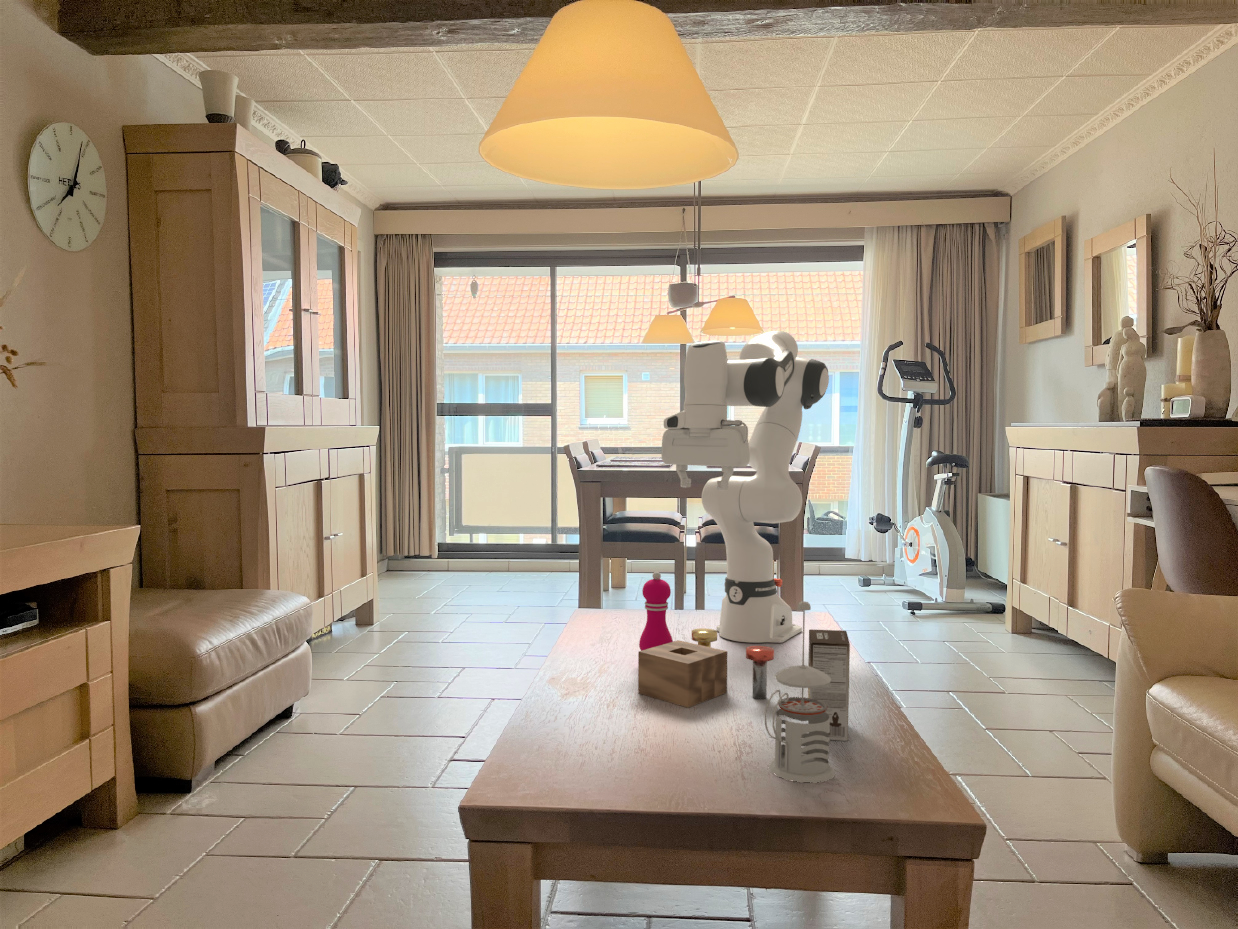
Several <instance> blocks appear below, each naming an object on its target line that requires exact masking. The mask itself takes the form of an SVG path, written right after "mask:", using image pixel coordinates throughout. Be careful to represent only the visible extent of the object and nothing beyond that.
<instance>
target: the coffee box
mask: <svg viewBox="0 0 1238 929" xmlns="http://www.w3.org/2000/svg"><path fill="white" fill-rule="evenodd" d="M850 647H851V643H850V640H849V635H848V632H847V630H837V629H836V630H831V629H809V630H808V662H807V663H808V665H807V666H810V667H813V668H815V669H817V670H820V671H822V672H824V673H825V674H827V675H828V676H829V677H830V678H831V681H830V683H829V684H828V685H826V686H823V687H818V688H807V698H810V699H811V698H812V699H814V700H815V699H816V700H820V701H821V702H824V703H825V704H826V705H827V707H828V708H827V709H826V711H825V712H826V713H827V714H828V715H829V717H830V732H829V733H828V735H829V741H842V742H848V740H849V705H850V703H849V699H850V698H849V697H850V694H849V693H850V653H851V651H850V650H851V648H850ZM807 722H808V723H807V724H809V721H807Z"/></svg>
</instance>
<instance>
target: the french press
mask: <svg viewBox="0 0 1238 929" xmlns="http://www.w3.org/2000/svg"><path fill="white" fill-rule="evenodd" d="M811 609H812V608H811V604H810V603H809V601H803V600H802V601H800V602H799V603H798V604H797V609H796V610H799V611H802V612H803V613H802V659H801V660H802V661H801V662H802V663H801V664H802V665H801V664H800V665H791V666H789V667H786V668H783V669H782V670H779V671H778V672H777V673H776V674H775V675H774V677H775V679H776V681H777V682H778V683H779V684H782V685H783V686H787V687H791V688H797V689H798V688H801V697H800V696H791V697H790V696H789V694H788V693H787V692H784V693H783V694H782V695H781V690H780V689H777V690H776V691H774V692H773V693H772V694H771V695H770V697H769V699H768V700H767V703H766V706H765V710H764V727H765V730H766V732H767V734H768V735H769V736H770V738H772V739H773V740H775V741H774V758H773V759H772V760H771V761H770V762H771V763H770V762H769V764H768V765H767V768H768V767H769V768H768V770H769V772H770V773H771V774H773V773H775V774H776V775H777V776H778V778H779V777H782V778H784V779H783V780H785V779H787V780H786V781H788V780H793V781H797V782H796V783H798V782H810V783H809V784H818V783H817V782H819V783H823V782H824V781H825V782H828V781H830V780H832V779H833V778H834V777H835V775H836V774H837V772H836V770H835V768H834V766H832V764H830V761H829V759H830V753H829V751H830V744H829V743H830V740H829V735H828V733H829V732H830V717H829V715H828V714H827V713H826V712H825V711H826V709H827V708H828V707H827V705H826V704H825V703H824V702H821V701H820V700H816V699H815V700H814V699H812V698H811V699H810V698H808V697H804V689H808V688H818V687H823V686H826V685H828V684H829V683H830V681H831V678H830V677H829V676H828V675H827V674H825V673H824V672H822V671H820V670H817V669H815V668H813V667H810V666H808V665H807V666H806V665H805V622H806V621H805V616H806V611H811ZM777 693H778V697H779V698H778V700H777V702H776V704H775V706H774V709H773V713H772V729H773V734H774V736H773V735H772V734H771V733H770V731H769V728H768V725H767V724H768V723H767V722H768V721H767V712H768V708H769V704H770V703H771V702H770V701H771V700H772V699H773V696H774V695H775V694H777ZM785 696H786V697H785ZM778 706H779V709H778V710H777V708H778ZM780 716H785V717H787V718H789V719H792V720H796V721H800V722H808V721H809V723H799V722H793V721H790V720H786V719H782V718H781V717H780ZM782 725H785V727H782ZM783 733H784V734H785V735H782V734H783ZM835 773H836V774H835ZM777 776H776V777H777ZM782 778H781V779H782ZM829 779H830V780H829ZM827 780H828V781H827ZM793 781H792V782H793ZM820 781H821V782H820ZM811 782H813V783H811Z"/></svg>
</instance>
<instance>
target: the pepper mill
mask: <svg viewBox="0 0 1238 929" xmlns="http://www.w3.org/2000/svg"><path fill="white" fill-rule="evenodd" d="M661 577H662V576H661V573H660V572H659V571H655V572H653V573H652V579H649V580H647V581H646V582H645V583H644V584H643V587H642V596H643V598H644V599H645V602H644V609H645V610H646V623H645V626H644V629H643V631H642V633H641V635H640V637H639V643H638V645H639V649H640V650H639V651H642V650H646V649H649V648H653V647H656V646H660V645H663V644H667V643H670V642H674V641H673V638H672V633H671V631H670V630H669V627H668V625H667V620H666V619H667V618H666V616H667V615H666V614H667V610H668V609H669V606H668V605H669V602H668V599H669V598H670V597H671V594H672V589H671V586H670V584H669V583H668V582H667V581H666V580H664V579H661Z"/></svg>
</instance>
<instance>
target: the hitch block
mask: <svg viewBox="0 0 1238 929" xmlns="http://www.w3.org/2000/svg"><path fill="white" fill-rule="evenodd" d="M637 659H638V666H637V667H638V668H637V670H638V673H637V674H638V676H637V678H638V679H637V681H638V682H637V684H638V685H637V688H638V689H637V694H639V695H644V696H647V697H650V698H654V699H657V700H661V701H663V702H667V703H670V704H674V705H678V706H680V707H684V708H687V709H688V708H690V707H691V708H692V707H693V706H696V705H699V704H702V703H703V702H706V701H710V700H712V699H713V698H714V699H715V698H717V697H720V696H722V695H725V694H727V693H728V651H727V650H724V649H720V648H719V649H718V648H715V647H712V646H711V647H706V646H702V645H698V643H693V642H688V641H683V640H678V639H677V640H675V641H673V642H670V643H667V644H663V645H660V646H656V647H653V648H649V649H646V650H642V651H641V650H638V658H637Z"/></svg>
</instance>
